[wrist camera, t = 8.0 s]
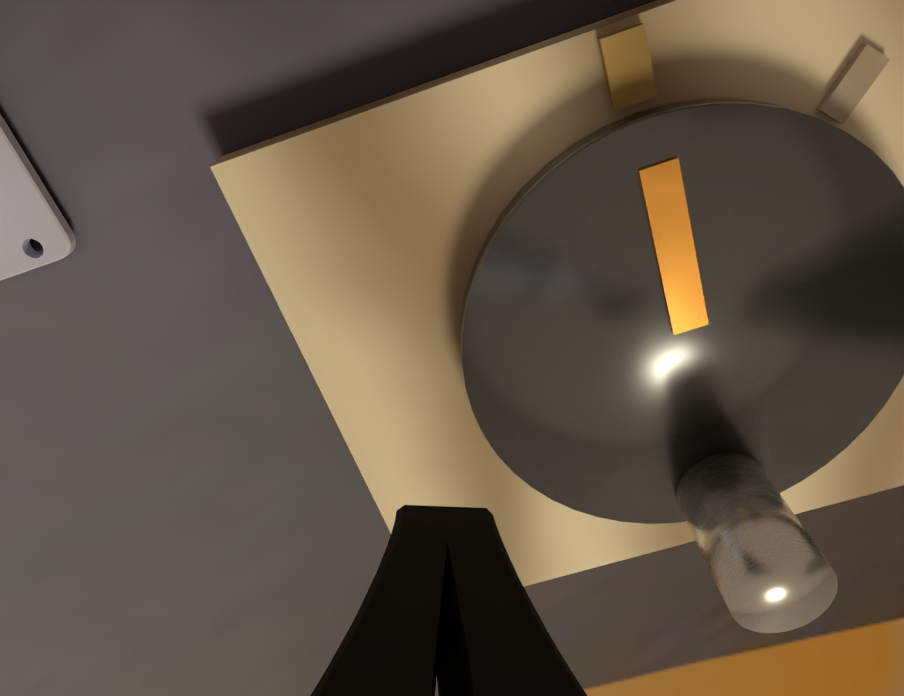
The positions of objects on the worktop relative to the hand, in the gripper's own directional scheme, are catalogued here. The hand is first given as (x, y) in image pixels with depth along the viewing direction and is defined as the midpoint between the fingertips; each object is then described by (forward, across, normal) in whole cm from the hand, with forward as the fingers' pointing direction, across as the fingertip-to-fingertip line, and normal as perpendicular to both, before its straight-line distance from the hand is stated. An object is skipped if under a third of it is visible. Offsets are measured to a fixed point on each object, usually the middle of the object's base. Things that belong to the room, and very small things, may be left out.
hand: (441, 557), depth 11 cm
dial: (+9, -7, 0) cm, 11 cm away
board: (+10, -6, 0) cm, 12 cm away
